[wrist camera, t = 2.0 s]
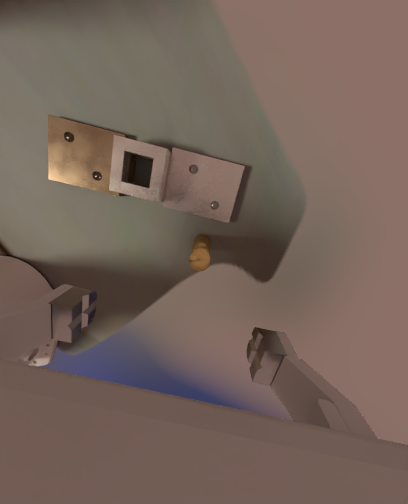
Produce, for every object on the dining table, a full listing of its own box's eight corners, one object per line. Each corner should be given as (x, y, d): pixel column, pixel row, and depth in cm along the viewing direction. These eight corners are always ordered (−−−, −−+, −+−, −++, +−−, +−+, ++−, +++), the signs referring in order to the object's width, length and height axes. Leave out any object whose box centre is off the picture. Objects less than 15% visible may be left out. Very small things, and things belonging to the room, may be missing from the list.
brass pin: (207, 250, 31) (207, 273, 22) (192, 247, 30) (187, 268, 22) (211, 236, 30) (212, 253, 21) (196, 232, 30) (191, 249, 21)
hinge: (243, 167, 27) (249, 162, 23) (228, 222, 29) (231, 226, 25) (54, 117, 25) (27, 103, 22) (54, 179, 28) (29, 177, 24)
